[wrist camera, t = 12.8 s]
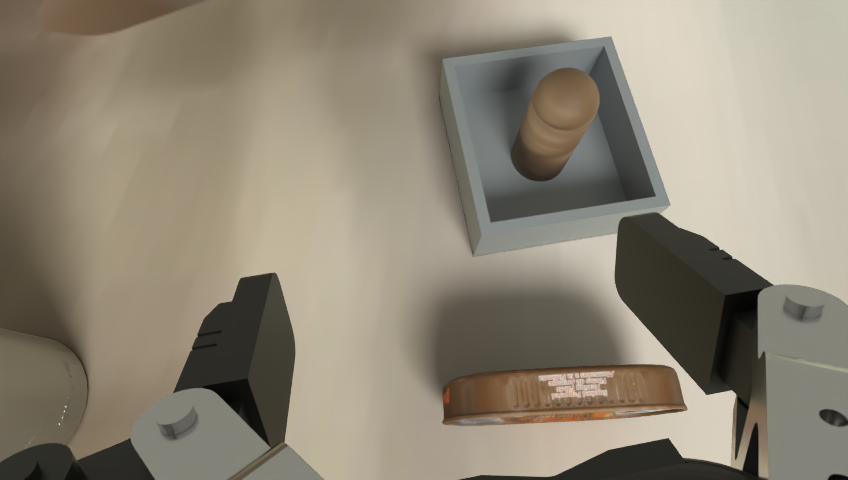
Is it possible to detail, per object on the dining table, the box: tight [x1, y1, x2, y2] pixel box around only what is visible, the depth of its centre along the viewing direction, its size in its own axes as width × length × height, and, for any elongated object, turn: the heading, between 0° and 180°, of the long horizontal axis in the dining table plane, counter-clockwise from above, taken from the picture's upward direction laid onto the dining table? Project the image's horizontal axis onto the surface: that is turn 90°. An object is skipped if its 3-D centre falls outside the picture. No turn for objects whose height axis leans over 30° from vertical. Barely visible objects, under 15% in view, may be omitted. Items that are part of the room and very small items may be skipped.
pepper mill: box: [511, 67, 600, 182], centre depth 37 cm, size 4×4×10 cm
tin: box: [442, 364, 687, 426], centre depth 33 cm, size 15×3×8 cm, turn 92°
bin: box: [439, 37, 670, 257], centre depth 41 cm, size 14×15×5 cm
